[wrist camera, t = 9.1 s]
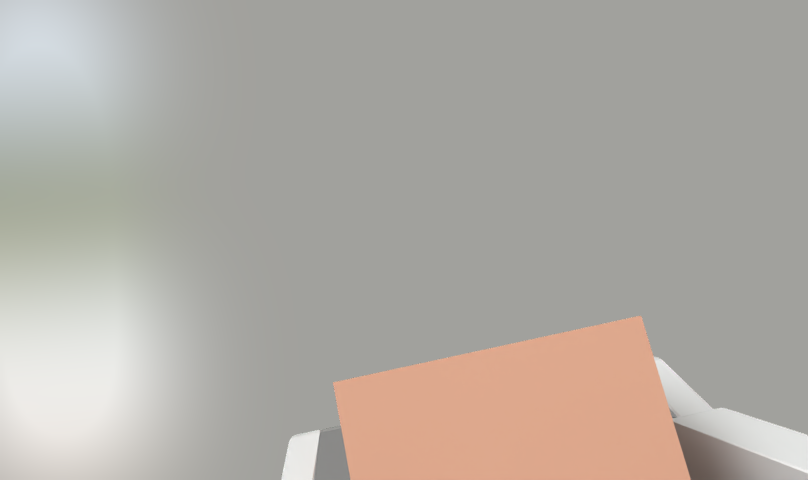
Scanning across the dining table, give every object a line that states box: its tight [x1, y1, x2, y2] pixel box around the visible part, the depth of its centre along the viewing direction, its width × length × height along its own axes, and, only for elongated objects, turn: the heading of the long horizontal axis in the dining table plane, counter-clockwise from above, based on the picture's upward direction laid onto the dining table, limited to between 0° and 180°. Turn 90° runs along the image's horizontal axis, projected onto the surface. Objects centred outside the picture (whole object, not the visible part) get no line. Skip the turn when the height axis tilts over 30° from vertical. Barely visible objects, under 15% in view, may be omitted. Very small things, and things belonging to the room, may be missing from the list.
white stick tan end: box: [333, 316, 691, 480], centre depth 17 cm, size 24×3×3 cm, turn 178°
